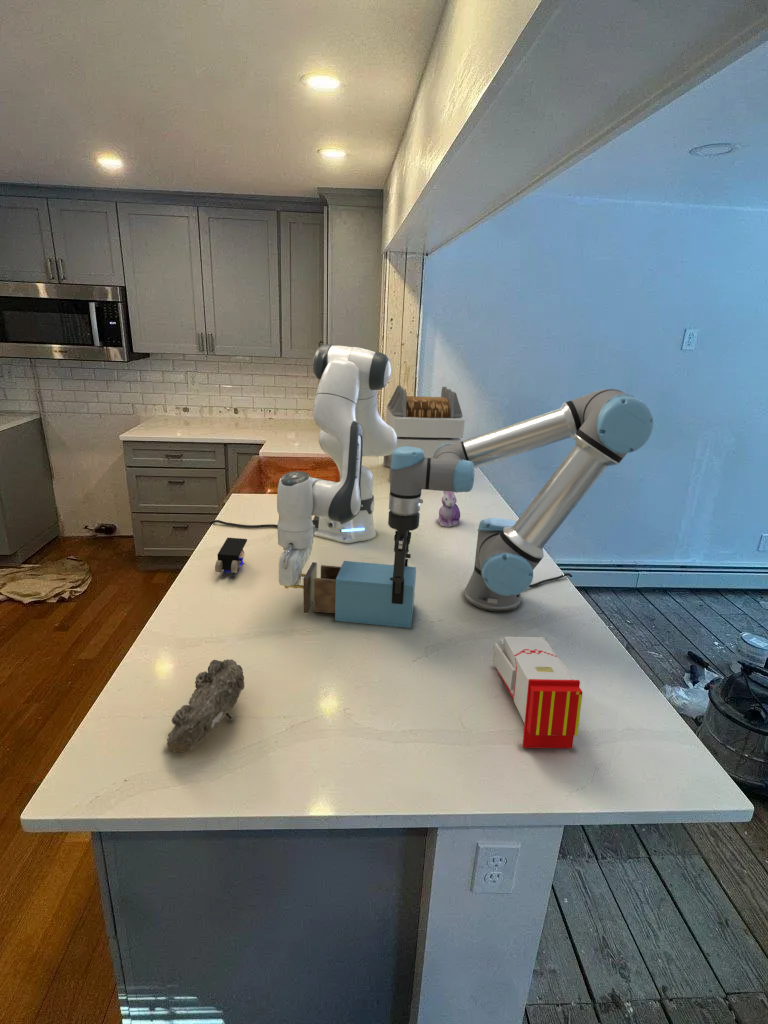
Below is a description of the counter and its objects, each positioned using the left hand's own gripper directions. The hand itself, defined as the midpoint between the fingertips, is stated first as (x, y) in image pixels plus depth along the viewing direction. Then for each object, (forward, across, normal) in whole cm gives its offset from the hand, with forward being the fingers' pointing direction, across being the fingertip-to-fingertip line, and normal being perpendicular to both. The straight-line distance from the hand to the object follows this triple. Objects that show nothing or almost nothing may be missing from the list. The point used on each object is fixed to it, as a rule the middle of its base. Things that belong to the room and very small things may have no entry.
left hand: (296, 585), depth 147 cm
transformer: (+6, +136, -26) cm, 139 cm away
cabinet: (+6, 0, -21) cm, 22 cm away
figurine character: (+6, +17, +24) cm, 30 cm away
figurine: (+6, +70, -40) cm, 81 cm away
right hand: (-1, 0, -27) cm, 27 cm away
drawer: (+5, 0, -9) cm, 11 cm away
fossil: (+6, -44, +5) cm, 45 cm away
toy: (+6, -30, -56) cm, 64 cm away
